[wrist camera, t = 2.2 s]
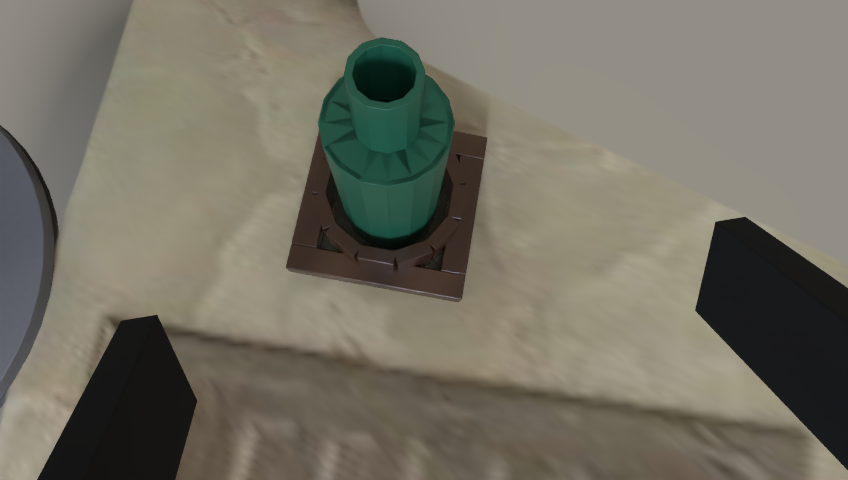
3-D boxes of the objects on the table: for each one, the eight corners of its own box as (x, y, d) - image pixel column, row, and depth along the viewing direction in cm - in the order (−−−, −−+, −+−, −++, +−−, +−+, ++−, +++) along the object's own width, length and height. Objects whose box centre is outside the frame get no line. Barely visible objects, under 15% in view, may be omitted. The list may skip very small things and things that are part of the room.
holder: (289, 271, 38) (277, 260, 34) (327, 116, 41) (319, 90, 37) (459, 302, 38) (466, 295, 34) (484, 145, 41) (493, 122, 37)
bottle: (338, 240, 39) (286, 131, 21) (356, 157, 40) (323, -10, 23) (426, 256, 39) (450, 161, 21) (441, 173, 41) (475, 19, 23)
